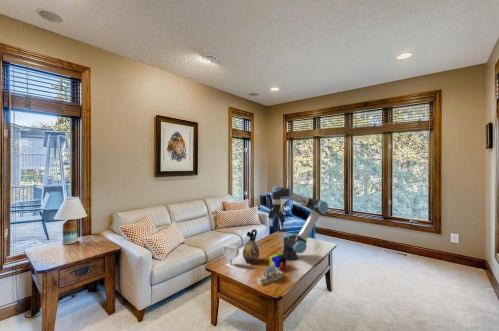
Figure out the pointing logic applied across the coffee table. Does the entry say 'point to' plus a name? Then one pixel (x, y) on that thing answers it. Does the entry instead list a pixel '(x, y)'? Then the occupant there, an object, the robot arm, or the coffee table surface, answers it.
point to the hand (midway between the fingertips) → (276, 227)
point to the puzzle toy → (278, 261)
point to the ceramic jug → (251, 248)
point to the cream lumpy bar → (263, 280)
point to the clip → (270, 269)
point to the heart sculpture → (230, 253)
